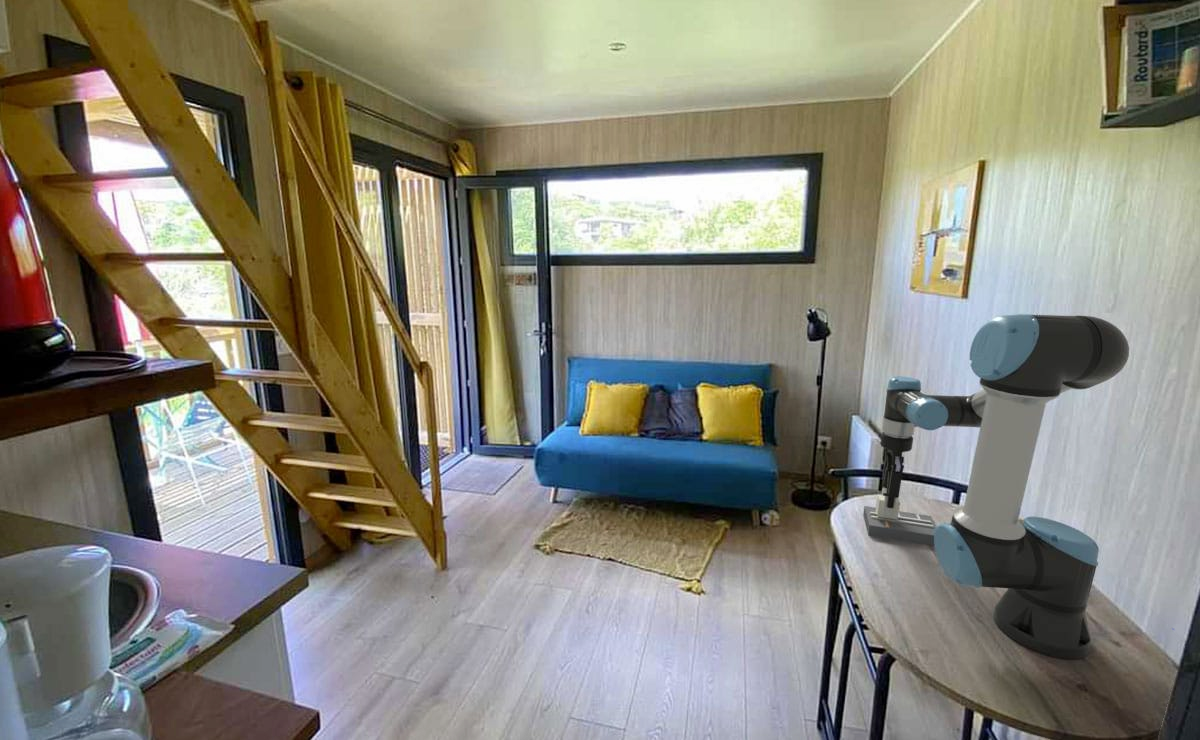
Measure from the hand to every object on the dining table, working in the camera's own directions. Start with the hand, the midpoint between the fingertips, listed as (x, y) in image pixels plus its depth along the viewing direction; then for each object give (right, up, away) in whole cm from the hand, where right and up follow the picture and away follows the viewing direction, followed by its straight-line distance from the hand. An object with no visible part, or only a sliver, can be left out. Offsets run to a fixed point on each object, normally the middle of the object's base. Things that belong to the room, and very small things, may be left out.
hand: (886, 513), depth 148 cm
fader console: (+3, -5, 0) cm, 6 cm away
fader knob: (0, -1, 0) cm, 1 cm away
